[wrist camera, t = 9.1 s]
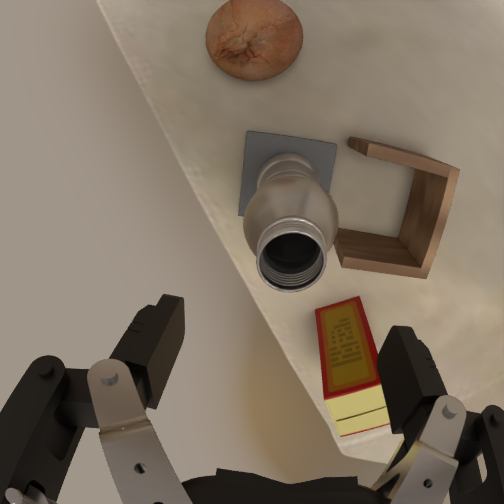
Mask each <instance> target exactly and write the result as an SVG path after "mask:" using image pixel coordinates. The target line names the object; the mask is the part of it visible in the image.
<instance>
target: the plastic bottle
mask: <svg viewBox="0 0 504 504" xmlns="http://www.w3.org/2000/svg"><path fill="white" fill-rule="evenodd" d="M338 224H339V219H338V211H337V208H336V205H335V203H334V201H333V199H332V197H331V196H330V195H329V193H328V192H327V191H326V190H325V189H324V188H323V187H322V186H321V185H319V176H318V172H317V170H316V168H315V167H314V165H313V164H312V163H311V162H310V161H309V160H308V159H306V158H305V157H303V156H301V155H298V154H294V153H284V154H279V155H277V156H274V157H273V158H271V159H269V160H268V161H267V162H266V163H265V164H264V165H263V167H262V168H261V170H260V172H259V174H258V178H257V191H256V193H255V194H254V195H253V197H252V198H251V200H250V201H249V203H248V205H247V208H246V210H245V214H244V218H243V230H244V235H245V238H246V241H247V243H248V245H249V247H250V249H251V250H252V252H253V253H254V255H255V256H256V257H257V259H256V264H257V269H258V273H259V275H260V277H261V278H262V280H263V281H264V282H265V283H266V284H267V285H268V286H270V287H272V288H273V289H276V290H278V291H282V292H298V291H301V290H305V289H307V288H309V287H311V286H312V285H313V284H315V283H316V282H317V281H318V280H319V279H320V277H321V276H322V274H323V272H324V270H325V267H326V260H327V257H326V253H327V252H328V251H329V250H330V248H331V246H332V245H333V242H334V240H335V237H336V234H337V231H338Z"/></svg>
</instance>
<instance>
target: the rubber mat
mask: <svg viewBox="0 0 504 504" xmlns="http://www.w3.org/2000/svg"><path fill="white" fill-rule="evenodd" d="M336 149H337V144H333V143H328V142H322V141H316V140H310V139H304V138H298V137H291V136H285V135H277V134H270V133H262V132H253V131H247V137H246V146H245V155H244V165H243V174H242V184H241V194H240V204H239V214H238V216H244V214H245V210H246V208H247V205H248V203H249V201H250V200H251V198H252V197H253V195H254V194H255V193H256V191H257V178H258V174H259V172H260V170H261V168H262V167H263V165H264V164H265V163H266V162H267V161H268V160H269V159H271V158H273V157H274V156H277V155H279V154H284V153H294V154H298V155H301V156H303V157H305V158H306V159H308V160H309V161H310V162H311V163H312V164H313V165H314V167H315V168H316V170H317V172H318V176H319V185H321V186H322V187H323V188H324V189H325V190H326V191H327V192H328V193H329V189H330V183H331V178H332V172H333V167H334V161H335V155H336Z"/></svg>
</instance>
